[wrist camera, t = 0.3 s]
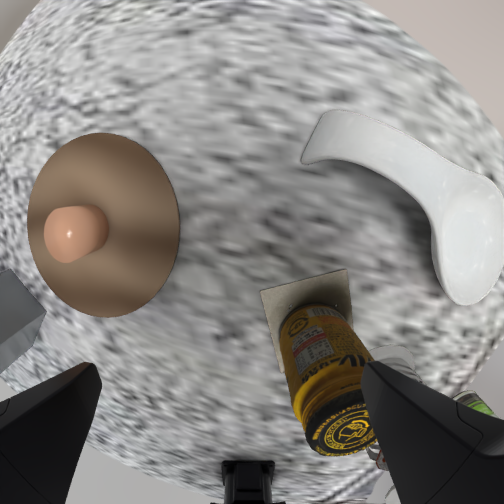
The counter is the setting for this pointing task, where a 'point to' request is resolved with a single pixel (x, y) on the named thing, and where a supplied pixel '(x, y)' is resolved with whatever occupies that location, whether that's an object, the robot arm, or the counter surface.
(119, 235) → the plate
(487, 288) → the white curved piece
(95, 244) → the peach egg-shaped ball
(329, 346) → the condiment
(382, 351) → the french press
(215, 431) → the counter surface
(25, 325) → the grey tall block
